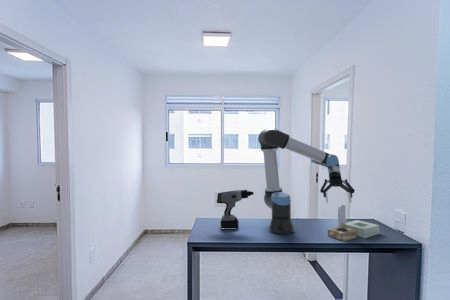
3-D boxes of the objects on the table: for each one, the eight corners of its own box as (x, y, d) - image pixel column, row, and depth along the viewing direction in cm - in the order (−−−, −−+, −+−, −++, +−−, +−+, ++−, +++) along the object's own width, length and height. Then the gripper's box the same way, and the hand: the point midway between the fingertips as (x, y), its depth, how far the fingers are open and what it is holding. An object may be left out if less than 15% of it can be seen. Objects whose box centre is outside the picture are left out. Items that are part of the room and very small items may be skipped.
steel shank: (336, 236, 158) (336, 205, 158) (341, 235, 160) (340, 204, 160) (342, 238, 155) (342, 206, 155) (347, 236, 157) (346, 205, 157)
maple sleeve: (327, 235, 160) (327, 229, 160) (339, 232, 165) (339, 225, 165) (344, 241, 150) (344, 234, 150) (356, 237, 156) (356, 230, 156)
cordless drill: (254, 229, 175) (253, 190, 175) (216, 229, 176) (215, 191, 175) (253, 225, 183) (252, 188, 183) (217, 226, 184) (216, 189, 183)
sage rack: (343, 231, 166) (343, 223, 166) (357, 227, 173) (357, 219, 173) (365, 238, 154) (364, 229, 154) (379, 233, 161) (378, 225, 161)
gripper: (354, 178, 182) (359, 205, 167) (314, 177, 188) (317, 204, 173) (355, 171, 176) (361, 198, 162) (315, 171, 182) (317, 197, 168)
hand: (338, 201), depth 168 cm, fingers open, 13 cm apart
